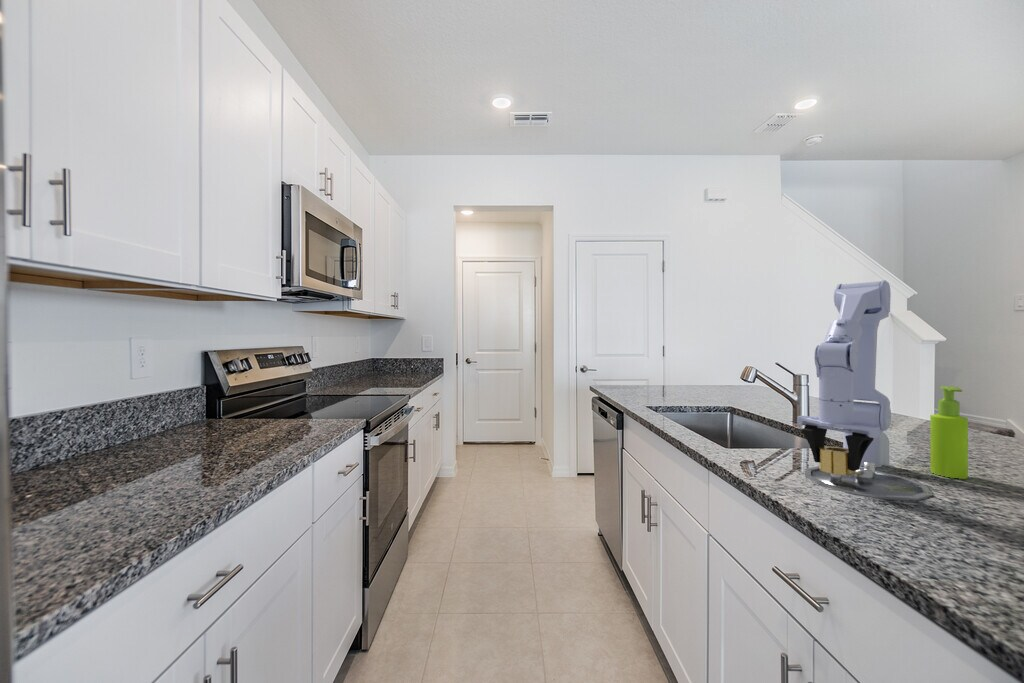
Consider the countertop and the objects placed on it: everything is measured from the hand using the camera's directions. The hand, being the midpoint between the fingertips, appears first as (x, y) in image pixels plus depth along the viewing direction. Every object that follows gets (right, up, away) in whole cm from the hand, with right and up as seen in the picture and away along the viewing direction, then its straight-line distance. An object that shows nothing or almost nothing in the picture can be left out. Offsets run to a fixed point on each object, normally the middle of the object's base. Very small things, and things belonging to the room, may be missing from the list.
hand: (835, 465), depth 89 cm
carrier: (+5, -4, -1) cm, 7 cm away
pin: (0, -4, 0) cm, 4 cm away
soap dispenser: (+31, -4, +7) cm, 32 cm away
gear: (0, -1, 0) cm, 1 cm away
